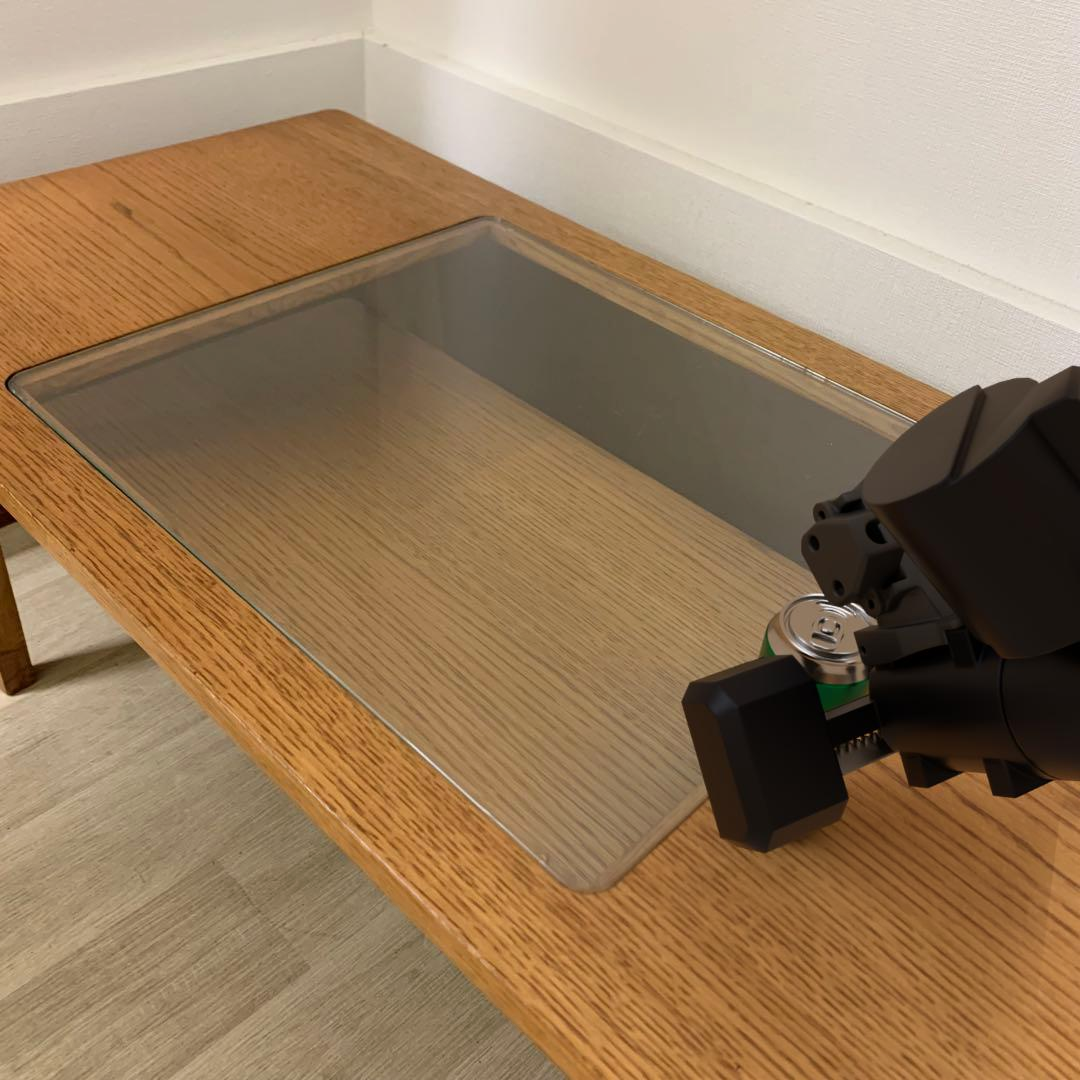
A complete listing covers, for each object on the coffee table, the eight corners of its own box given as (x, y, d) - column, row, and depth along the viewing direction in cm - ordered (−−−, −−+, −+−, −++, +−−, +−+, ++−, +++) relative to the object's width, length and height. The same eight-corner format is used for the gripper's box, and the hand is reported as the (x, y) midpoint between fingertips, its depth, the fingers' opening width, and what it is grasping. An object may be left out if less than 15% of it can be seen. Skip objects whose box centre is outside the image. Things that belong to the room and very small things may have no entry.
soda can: (835, 783, 57) (900, 610, 49) (810, 860, 53) (876, 685, 46) (739, 746, 58) (787, 572, 51) (708, 818, 55) (755, 642, 47)
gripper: (1185, 396, 40) (895, 474, 55) (766, 521, 33) (558, 573, 47) (1275, 696, 40) (960, 695, 55) (873, 889, 33) (631, 829, 47)
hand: (789, 691), depth 51 cm, fingers open, 9 cm apart
